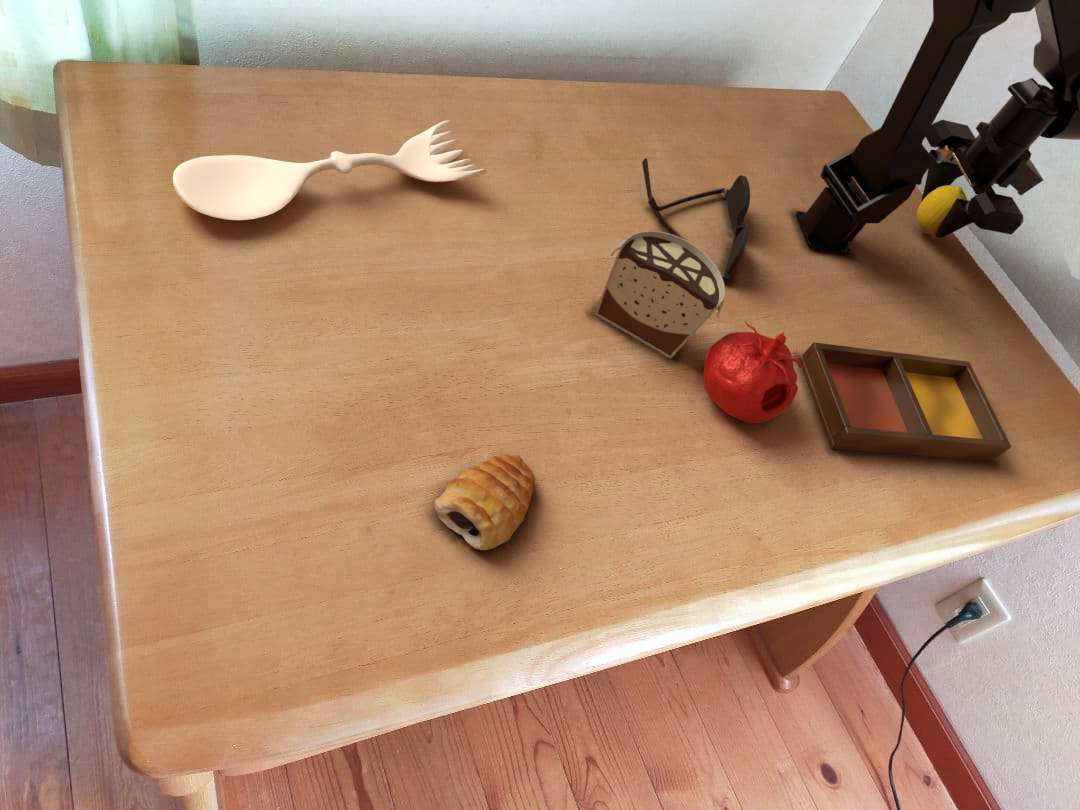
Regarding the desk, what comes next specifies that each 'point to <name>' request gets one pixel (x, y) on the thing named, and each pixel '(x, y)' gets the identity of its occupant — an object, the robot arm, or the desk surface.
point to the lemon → (937, 207)
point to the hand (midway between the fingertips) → (930, 222)
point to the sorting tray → (901, 403)
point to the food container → (661, 290)
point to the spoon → (304, 175)
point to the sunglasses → (736, 207)
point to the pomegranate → (751, 375)
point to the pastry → (488, 501)
